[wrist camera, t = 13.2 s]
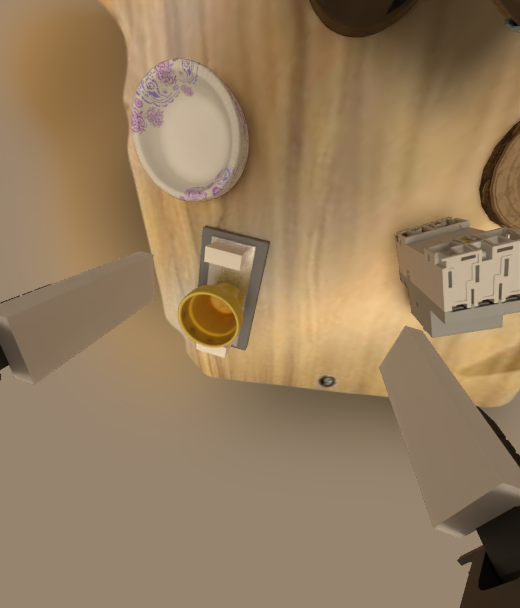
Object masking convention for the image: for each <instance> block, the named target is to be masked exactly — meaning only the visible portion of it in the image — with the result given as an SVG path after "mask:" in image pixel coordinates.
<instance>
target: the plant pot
mask: <svg viewBox="0 0 520 608" xmlns="http://www.w3.org/2000/svg"><path fill="white" fill-rule="evenodd" d="M242 303H243V297H242V293H241V291H240V290H239V289H238V288H237V287H236V286H235V285H233V284H231V283H228V282H220V283H217V284H214V285H204V286H200V287H198V288H196V289H195V290H193V291H192V292H190V293H189V294H188V295H187V296H186V297H185V298H184V299H183V300H182V301H181V303H180V305H179V308H178V319H179V323H180V325H181V327H182V329H183V331H184V332H185V333H186V335H187V336H188V337H189V338H191V339H192V340H193V341H195V342H196V343H198V344H200V345H202V346H205V347H210V348H220V347H224V346H226V345H228V344H230V343H231V342H233V341H234V339H235V338H236V337H237V335H238V333H239V331H240V329H241V326H242V323H243V310H242Z"/></svg>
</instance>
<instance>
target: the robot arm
mask: <svg viewBox="0 0 520 608" xmlns="http://www.w3.org/2000/svg"><path fill="white" fill-rule="evenodd" d="M310 1H311V4H312V6H313V8H314V10H315V12H316V13H317V15H318V16H319V18H320V19H321V20H322V21H323V22H324V24H326V25H327V26H328V27H329V28H330V29H332V30H333V31H335V32H337V33H339V34H342V35H345V36H350V37H362V36H368V35H371V34H374V33H377V32H379V31H381V30H384V29H385V28H387V27H389V26H390V25H392V24H393V23H395V22H396V21H397V20H399V19H400V18H401V17H402V16H403V15H404V14H406V13H407V12H408V11H409V10H410V9H411V8H412V6H413V5H414V4H415V3H416V2H417V1H418V0H310ZM491 2H492V3H493V4H494V5H495V6H496V8H497V9H498V10H499V11H500V12H501V13H502V15H503V16H504V17H505V21H504V24H505V25H506V27H507V28H508V29H509V30H511V31H515V32H519V33H520V0H491ZM154 299H155V296H154V263H153V255H152V254H149V253H145V252H142V251H139V252H136V253H134V254H131V255H128V256H126V257H123V258H120V259H118V260H115V261H112V262H110V263H107V264H104V265H102V266H99V267H96V268H94V269H91V270H88V271H86V272H83V273H80V274H78V275H75V276H72V277H70V278H68V279H64V280H62V281H59V282H57V283H54V284H49V285H46V286H44V287H41V288H38V289H36V290H34V291H30V292H28V293H25V294H23V295H22V296H17V297H14V298H11V299H9V300H6V301H3V302H1V303H0V370H1V369H3V368H4V367H6V366H8V365H9V366H10V368H11V370H12V372H13V375H14V377H15V378H17V379H20V380H23V381H25V382H28V383H31V384H36V383H37V382H39V381H40V380H41V379H43V378H44V377H46V376H47V375H49V374H50V373H51V372H53V371H54V370H56V369H57V368H58V367H60V366H61V365H63V364H64V363H66V362H67V361H68V360H69V359H71V358H73V357H74V356H75V355H77V354H78V353H80V352H81V351H83V350H84V349H85V348H87V347H88V346H90V345H91V344H92V343H94V342H95V341H97V340H98V339H100V338H101V337H102V336H104V335H105V334H107V333H108V332H109V331H111V330H112V329H114V328H115V327H116V326H118V325H119V324H121V323H122V322H123V321H125V320H126V319H128V318H129V317H131V316H132V315H133V314H135V313H136V312H138V311H139V310H140V309H142V308H143V307H144V306H146V305H148V304H149V303H150V302H152V301H153V300H154ZM379 369H380V371H381V374H382V377H383V380H384V383H385V386H386V389H387V392H388V395H389V398H390V401H391V404H392V407H393V410H394V413H395V416H396V419H397V422H398V425H399V428H400V431H401V434H402V437H403V439H404V443H405V446H406V448H407V452H408V454H409V457H410V460H411V463H412V466H413V469H414V472H415V475H416V478H417V481H418V484H419V487H420V490H421V493H422V496H423V499H424V502H425V505H426V508H427V511H428V514H429V517H430V519H431V523H432V526H433V528H434V529H437V530H440V531H443V532H446V533H449V534H451V535H454V536H457V537H459V538H463V537H464V536H466V535H468V534H470V533H472V532H473V531H475V530H477V532H478V534H479V537H480V539H481V541H482V543H483V545H482V546H480V547H478V548H477V549H474V550H472V551H470V552H468V553H466V554H464V555H462V556H461V557H460V558H459V559H458V562H459V563H460V564H461V565H464V564H466V563H468V562H472V565H471V569H470V572H469V576H468V579H467V583H466V587H465V590H464V594H463V598H462V601H461V605H460V608H520V455H519V454H517V453H516V450H515V449H514V447H513V446H512V445H511V443H510V442H509V441H508V440H506V437H505V435H504V434H503V433H502V431H501V430H500V429H499V427H498V426H497V425H496V423H495V422H494V421H493V420H492V419H491V418H490V417H489V416H488V415H487V414H486V413H485V412H484V411H482V410H481V409H480V408H479V407H477V406H475V404H474V403H473V402H472V400H471V399H470V397H469V396H468V395H467V393H466V392H465V390H464V389H463V388H462V386H461V385H460V383H459V382H458V381H457V379H456V378H455V376H454V375H453V374H452V372H451V371H450V369H449V368H448V367H447V365H446V364H445V362H444V361H443V360H442V358H441V357H440V355H439V354H438V353H437V351H436V350H435V348H434V347H433V346H432V344H431V343H430V341H429V340H428V339H427V337H426V336H425V334H424V333H423V332H422V331H421V330H418V329H414V328H411V327H407V326H405V327H404V329H403V330H402V332H401V334H400V335H399V337H398V338H397V340H396V341H395V343H394V345H393V346H392V348H391V349H390V351H389V352H388V354H387V356H386V357H385V359H384V360H383V362H382V364H381V365H380V367H379ZM0 380H1V374H0Z"/></svg>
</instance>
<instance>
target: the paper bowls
mask: <svg viewBox="0 0 520 608" xmlns="http://www.w3.org/2000/svg"><path fill="white" fill-rule="evenodd" d="M131 128H132V136H133V141H134V145H135V148H136V152H137V154H138V157H139V160H140V162H141V164H142V165H143V167H144V169H145V171H146V172H147V174H148V175H149V176H150V178H151V179H152V180H153V181H154V182H155V184H156V185H158V186H159V187H160V188H161V189H162V190H163V191H165V192H166V193H168V194H169V195H171V196H173V197H175V198H177V199H180V200H184V201H190V202H196V201H205V200H211V199H214V198H217V197H220V196H222V195H223V194H225V193H227V192H228V191H229V190H230V189H231V188H232V187H233V186H234V185H235V184H236V183H237V181H238V180H239V178H240V177H241V175H242V173H243V170H244V168H245V165H246V162H247V157H248V152H249V137H248V129H247V124H246V120H245V117H244V113H243V111H242V109H241V107H240V105H239V103H238V102H237V100H236V98H235V97H234V95H233V94H232V93H231V91H230V90H229V89H228V88H227V86H226V85H225V84H224V83H223V82H222V81H221V80H220V79H219V78H218V77H217V76H216V75H215V74H214V73H213V72H212V71H211V70H210V69H208V68H207V67H205V66H203V65H201V64H200V63H197V62H195V61H192V60H187V59H177V58H176V59H170V60H166V61H164V62H161V63H160V64H158V65H156V66H155V67H154V68H152V69H151V70H150V71H149V72H148V73H147V74H146V76H145V77H144V78H143V80H142V81H141V83H140V85H139V87H138V89H137V91H136V94H135V97H134V101H133V106H132V114H131Z"/></svg>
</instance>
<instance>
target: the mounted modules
mask: <svg viewBox="0 0 520 608" xmlns="http://www.w3.org/2000/svg"><path fill="white" fill-rule="evenodd" d="M248 255H249V248H245V247H241V246H237V245H233V244H229V243H225V242H221V241H218V240H217V241H215V242H213V243H211V244H209V245H207V246H205V257H204V262H208V263H212V264H216V265H219V266H223V267H227V268H231V269H234V270H238V271H240V270H241V268H242V267H243V266H244V265H245V264H246V263H247V260H248ZM232 343H233V342H231V343H230V344H228V345H226V346H224V347H220V348H210V347H205V346H202V345H200V344H198V343H197V348H196V349H197V350H200V351H204V352H207V353H210V354H214V355H217V356H220V357H224V358H225V357H226V355H227V353H228V351H229V349H230V347H231V345H232Z"/></svg>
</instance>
